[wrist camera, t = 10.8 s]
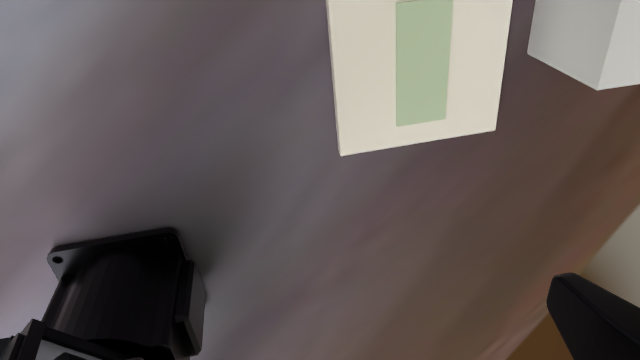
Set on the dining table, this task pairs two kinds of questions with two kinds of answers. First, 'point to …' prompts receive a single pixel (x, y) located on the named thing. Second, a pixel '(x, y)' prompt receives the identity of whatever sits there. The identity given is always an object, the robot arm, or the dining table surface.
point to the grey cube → (589, 40)
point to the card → (415, 69)
